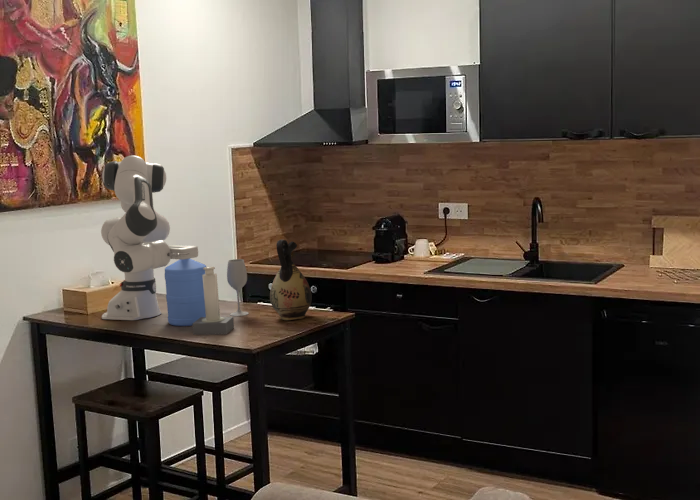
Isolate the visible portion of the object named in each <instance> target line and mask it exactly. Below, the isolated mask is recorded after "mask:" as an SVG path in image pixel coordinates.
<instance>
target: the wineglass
mask: <svg viewBox="0 0 700 500" xmlns="http://www.w3.org/2000/svg"><path fill="white" fill-rule="evenodd" d="M226 268H227V269H226V279H227V283H228V285H229V286H230V287H231V288H232V289H233V290H235V291H236V294H237V295H236V298H237V310H236V311H234V312H231V313H230V314H229V317H244V316H248V315H249V312H248V311H243V310H242V309H241V303H240V291H241V289H242V288H243V287H244V286H245V285H246V284H247V281H248V274H247V273H248V272H247V267H246V262H245V260H244V259H243V258H237V259H236V258H235V259H229V260H228V261H227V266H226Z"/></svg>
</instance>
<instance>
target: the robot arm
mask: <svg viewBox="0 0 700 500" xmlns="http://www.w3.org/2000/svg"><path fill="white" fill-rule="evenodd" d="M101 176H102V177H101V178H102V183H103V185H104V187H105V188H106V190H110V191H113V192H114V194H115V196H116V198H117V199H118V200H119V201H120V206H121V207H120V208H121V209H122V211H124V212H125V213H124V214H123V215H122V216H119V217H113V218H109V219H106V220H105V221H104V222H103V224H102V226H101V229H100V233H101V237H102V239H103V241H104V242H105V244H107V245H108V246H110V248H111V250H112V252H113V253H114V254H113V263H114V265H115V267H116V268H117V269H118V270H119V271H120V272H122V273H124V279H123V281H122V282H120V283H119V288H120V291H119V292H118V293H116V294H115V295H114V296H113V297H112V298H111V299H110V300H109V301H108V304H107V309H106V310H107V311H106V312H104V313H102V315H101V319H102V320H115V321H116V320H118V321H119V320H121V321H138V320H142V319H149V318H153V317H157V316H159V315H161V314H162V311H161V309H160V305H159V302H158V298H157V283H156V278H155V273H154V272H155V271H154V270H155V269H159V268H163V267H167V266H168V265H169V263H170V261H171V260H180V259H194V258H197V257H198V256H199V246H197V245H183V244H182V245H181V244H168V243H166V242H165V240H166V239H167V238H168V237H169V234H170V233H171V232H170V231H171V227H170V226H171V225H170V222H169V221H168V219H167V218H166V217H165V216H164V215H162V214H160V213H158V212H157V211H156V210H155V209H154V199H153V193H155V194H156V193H159V192H161V191H162V190H164V187H165V185H166V182H167V173H166V171H165V168H164V167H163V165H162V164H160V163H155V162H153V163H151V162H146V161H145V160H144V158H142V157H141V156H138V155H128V156H127V155H126V156H125V157H124V158H123V159H122V160H121V161H117V160H112V161H109V162H107V163H106V164H105V165H104V167H103V171H102V175H101Z"/></svg>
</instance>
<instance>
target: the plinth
mask: <svg viewBox="0 0 700 500" xmlns="http://www.w3.org/2000/svg"><path fill="white" fill-rule="evenodd" d="M234 321H235V320H234V316H220V319H219V320H213V321H208V320H206V317H201V318H199V319H198V320H196V321H195V322H194V323H192V324H193V325H192V334H193V335H228V333H230V332H231V331H232V330H233V329H234V328H235V323H234Z"/></svg>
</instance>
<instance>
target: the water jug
mask: <svg viewBox="0 0 700 500" xmlns="http://www.w3.org/2000/svg"><path fill="white" fill-rule="evenodd" d="M204 267H207V265H206V264H204V263H201V262H199V261H197V260H195V259H193V258H190V259H177V260H176V261H174V262H173V263H171V264H168V265H166V266H165V268H164V280H165V292H166V293H165V299H166V305H167V306H166V307H167V323H168V324H170V325H171V326H175V327H191V326H192V327H193V324H192V323H194V322H195V321H196V320H198V319H199V318H201V317H206V314H205V301H204V288H203V276H202V275H204V274H205V270H203V268H204Z"/></svg>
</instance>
